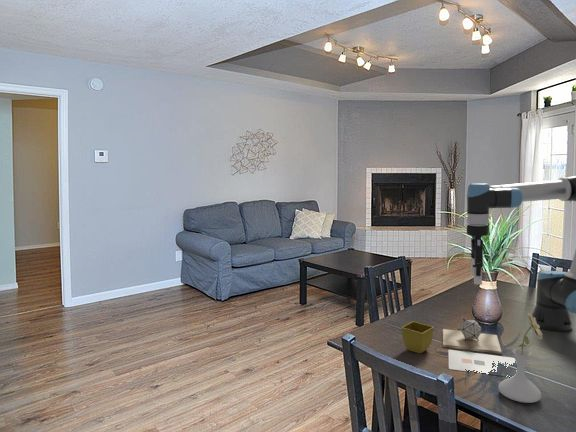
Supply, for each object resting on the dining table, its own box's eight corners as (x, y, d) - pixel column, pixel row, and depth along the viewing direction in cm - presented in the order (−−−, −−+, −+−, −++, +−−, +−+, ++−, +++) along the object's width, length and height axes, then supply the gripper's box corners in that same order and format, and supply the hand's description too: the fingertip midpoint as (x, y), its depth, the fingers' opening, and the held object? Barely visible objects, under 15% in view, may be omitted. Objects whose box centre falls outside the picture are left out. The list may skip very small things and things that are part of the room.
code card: (514, 358, 156) (514, 357, 156) (521, 379, 141) (522, 378, 141) (448, 349, 163) (448, 349, 163) (448, 368, 148) (448, 368, 148)
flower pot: (400, 350, 163) (400, 326, 162) (412, 343, 169) (412, 320, 168) (421, 357, 157) (422, 333, 156) (433, 350, 163) (434, 326, 162)
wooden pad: (496, 337, 174) (496, 335, 174) (501, 354, 159) (501, 351, 159) (442, 331, 181) (443, 329, 181) (442, 346, 166) (442, 344, 166)
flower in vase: (529, 411, 123) (535, 325, 120) (490, 394, 132) (494, 313, 129) (551, 396, 131) (556, 315, 127) (512, 381, 140) (517, 305, 137)
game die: (471, 346, 172) (483, 324, 174) (479, 348, 164) (491, 324, 165) (450, 334, 174) (463, 312, 175) (457, 334, 165) (470, 311, 167)
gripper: (464, 219, 179) (463, 270, 182) (469, 229, 156) (467, 287, 158) (484, 220, 177) (483, 271, 179) (492, 229, 153) (490, 289, 156)
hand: (476, 279), depth 169 cm, fingers open, 13 cm apart
